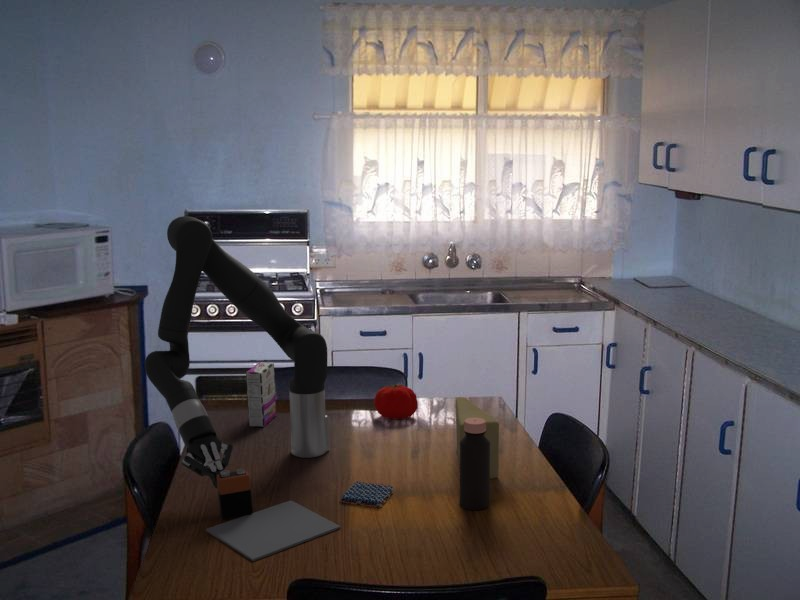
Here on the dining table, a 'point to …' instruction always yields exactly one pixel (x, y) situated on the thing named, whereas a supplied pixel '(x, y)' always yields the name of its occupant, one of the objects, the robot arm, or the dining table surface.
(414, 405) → the tomato
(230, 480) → the battery
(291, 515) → the rubber mat
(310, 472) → the dining table surface
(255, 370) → the candy bar box
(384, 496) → the woven mat
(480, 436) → the bottle
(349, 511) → the dining table surface
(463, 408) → the cheese
